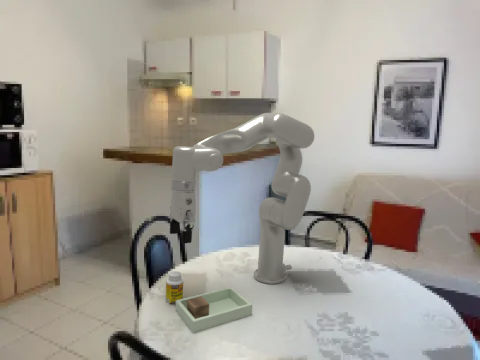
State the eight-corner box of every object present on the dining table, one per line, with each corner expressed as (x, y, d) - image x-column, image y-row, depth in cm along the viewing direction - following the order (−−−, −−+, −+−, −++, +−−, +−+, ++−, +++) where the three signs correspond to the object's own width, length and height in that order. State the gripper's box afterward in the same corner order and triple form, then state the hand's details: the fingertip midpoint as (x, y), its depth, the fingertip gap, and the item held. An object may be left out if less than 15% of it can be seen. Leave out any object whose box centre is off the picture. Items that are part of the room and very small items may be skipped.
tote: (230, 298, 121) (231, 286, 120) (251, 316, 110) (252, 304, 109) (175, 312, 110) (175, 300, 109) (193, 335, 99) (193, 321, 99)
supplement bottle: (169, 308, 112) (170, 278, 111) (163, 300, 117) (163, 271, 115) (185, 304, 115) (186, 275, 114) (178, 296, 120) (179, 268, 118)
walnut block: (201, 311, 110) (201, 296, 110) (208, 319, 106) (209, 303, 105) (186, 315, 108) (187, 300, 107) (193, 323, 104) (194, 308, 103)
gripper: (206, 191, 106) (202, 245, 108) (183, 180, 120) (180, 229, 122) (183, 191, 101) (179, 248, 104) (162, 181, 116) (159, 231, 118)
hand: (180, 238), depth 113 cm, fingers open, 9 cm apart
